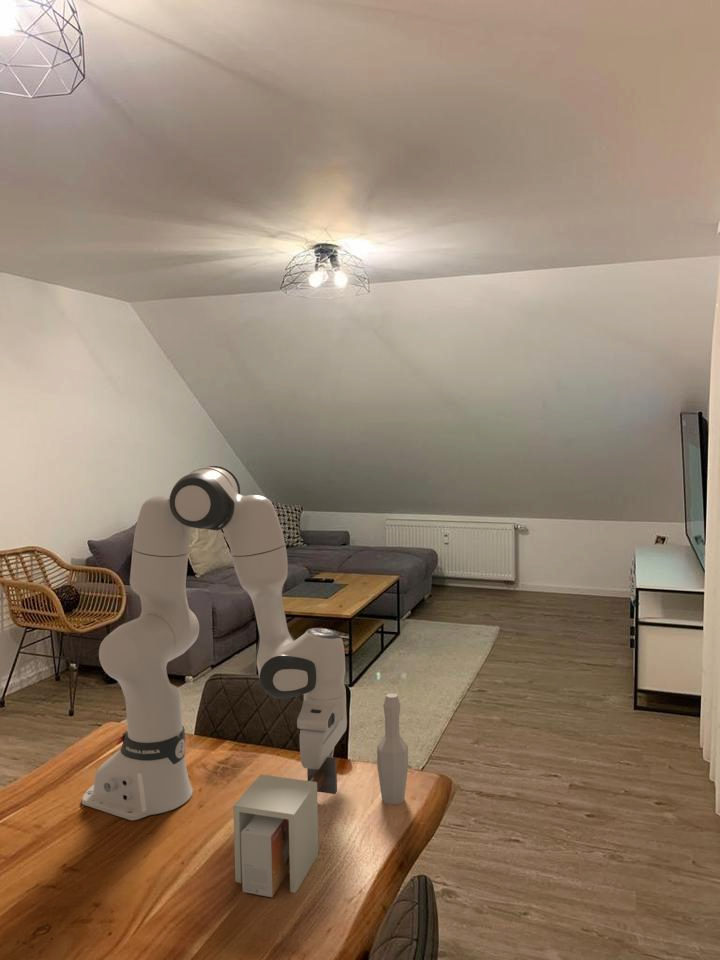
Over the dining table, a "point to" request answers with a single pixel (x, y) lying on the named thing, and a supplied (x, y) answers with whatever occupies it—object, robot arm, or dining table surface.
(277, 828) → the small box
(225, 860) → the dining table surface
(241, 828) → the tunnel
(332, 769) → the push rod
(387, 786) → the low poly bottle
